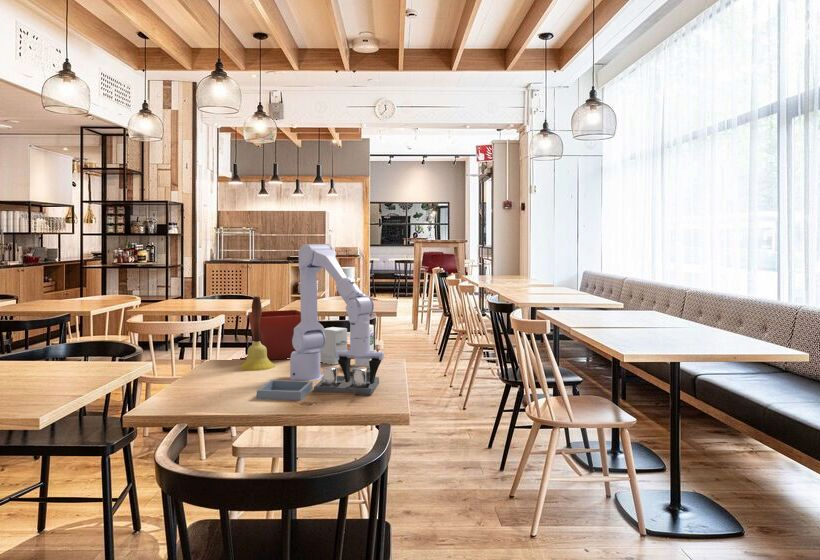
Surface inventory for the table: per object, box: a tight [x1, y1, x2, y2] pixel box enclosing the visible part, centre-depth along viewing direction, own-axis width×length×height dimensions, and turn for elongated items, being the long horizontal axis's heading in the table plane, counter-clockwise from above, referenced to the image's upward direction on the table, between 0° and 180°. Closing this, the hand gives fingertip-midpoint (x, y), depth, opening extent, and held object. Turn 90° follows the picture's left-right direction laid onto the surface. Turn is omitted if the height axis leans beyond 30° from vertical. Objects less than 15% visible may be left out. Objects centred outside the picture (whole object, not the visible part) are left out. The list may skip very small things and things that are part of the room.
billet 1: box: [322, 366, 338, 387], centre depth 181 cm, size 4×4×7 cm
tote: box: [256, 379, 314, 402], centre depth 175 cm, size 13×13×3 cm
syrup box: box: [354, 324, 375, 367], centre depth 218 cm, size 6×6×14 cm
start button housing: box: [350, 366, 370, 377], centre depth 197 cm, size 7×7×3 cm
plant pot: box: [247, 309, 301, 361], centre depth 232 cm, size 19×19×17 cm
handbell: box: [239, 296, 276, 372], centre depth 213 cm, size 12×12×25 cm
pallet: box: [313, 375, 380, 396], centre depth 184 cm, size 17×15×2 cm
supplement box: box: [320, 326, 348, 366], centre depth 222 cm, size 7×7×13 cm
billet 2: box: [353, 368, 366, 388], centre depth 179 cm, size 4×4×7 cm
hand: (359, 382), depth 180 cm, fingers open, 7 cm apart
